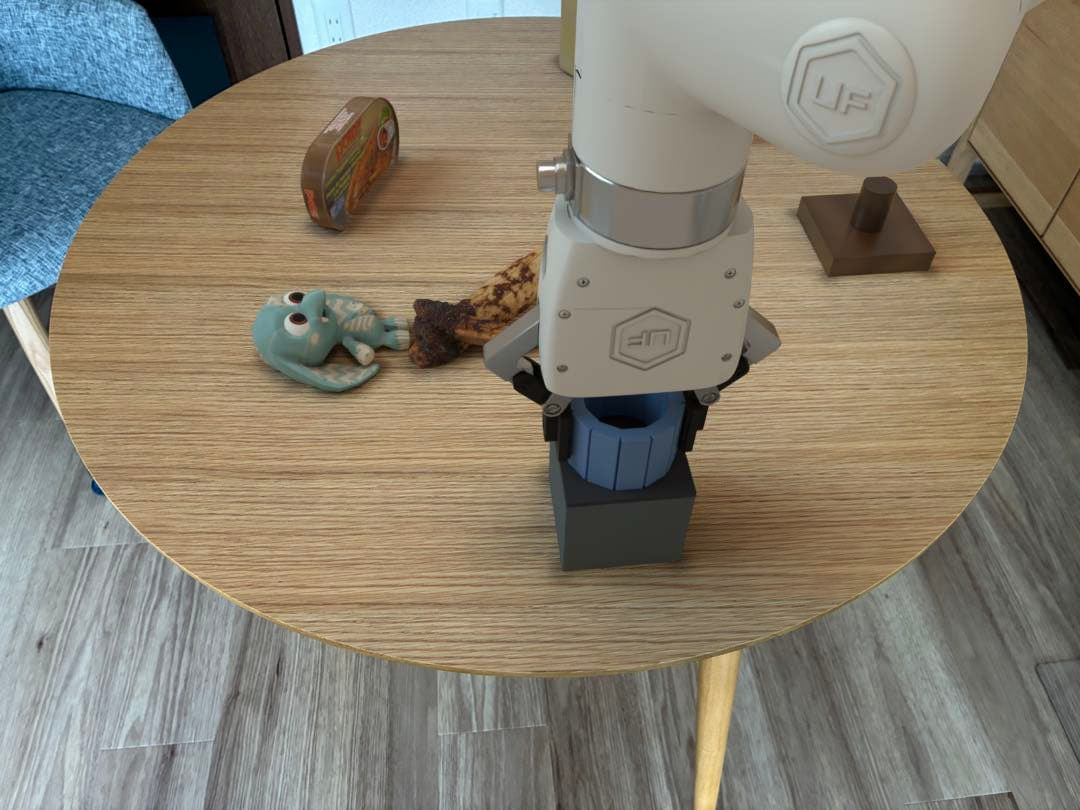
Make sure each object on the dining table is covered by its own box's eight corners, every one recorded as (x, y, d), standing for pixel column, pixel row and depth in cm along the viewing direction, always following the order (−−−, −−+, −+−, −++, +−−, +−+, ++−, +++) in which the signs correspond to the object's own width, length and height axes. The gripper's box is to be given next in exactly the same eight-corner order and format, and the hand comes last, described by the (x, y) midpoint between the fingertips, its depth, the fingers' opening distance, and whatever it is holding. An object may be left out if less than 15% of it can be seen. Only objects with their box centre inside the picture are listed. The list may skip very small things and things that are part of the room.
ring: (662, 401, 54) (671, 350, 51) (685, 485, 50) (696, 436, 46) (558, 408, 54) (560, 357, 50) (572, 494, 49) (575, 445, 46)
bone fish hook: (471, 418, 65) (624, 299, 73) (468, 378, 61) (630, 257, 69) (390, 354, 69) (544, 248, 77) (383, 312, 65) (545, 205, 73)
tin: (338, 249, 77) (321, 168, 71) (306, 242, 78) (287, 161, 71) (406, 160, 87) (396, 82, 80) (377, 155, 87) (365, 76, 81)
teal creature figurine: (424, 340, 62) (248, 341, 58) (415, 408, 67) (252, 412, 63) (407, 248, 69) (249, 244, 65) (400, 316, 74) (253, 315, 70)
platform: (886, 217, 81) (910, 152, 76) (924, 279, 75) (954, 212, 70) (793, 223, 80) (812, 157, 75) (825, 285, 75) (847, 219, 69)
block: (655, 475, 61) (669, 395, 54) (678, 569, 56) (697, 493, 49) (548, 484, 60) (550, 404, 54) (561, 579, 55) (566, 504, 49)
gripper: (460, 244, 35) (478, 501, 48) (876, 221, 36) (780, 477, 49) (453, 142, 39) (471, 401, 53) (818, 125, 41) (746, 382, 54)
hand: (621, 436), depth 51 cm, fingers closed on ring, 6 cm apart
